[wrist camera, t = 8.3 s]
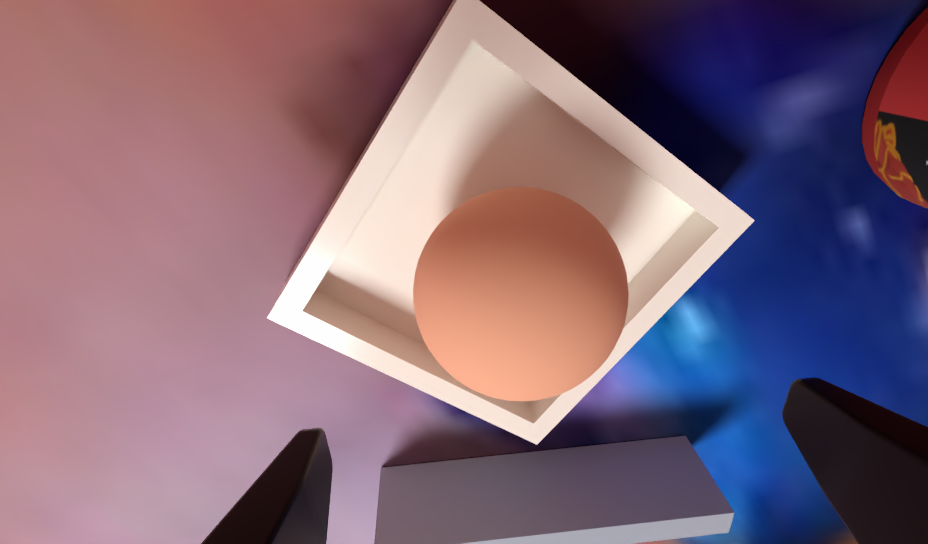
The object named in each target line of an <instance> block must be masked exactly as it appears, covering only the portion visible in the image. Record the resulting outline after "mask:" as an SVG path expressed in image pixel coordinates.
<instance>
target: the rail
mask: <svg viewBox="0 0 928 544" xmlns="http://www.w3.org/2000/svg"><path fill="white" fill-rule="evenodd" d="M733 516H734V511H733V510H732V508H731V506H730V505H729V503H728V502H727V500H726V499H725V497H724V495H723V494H722V492H721V491H720V489H719V488H718V486H717V484H716V483H715V481H714V480H713V478H712V476H711V475H710V473H709V472H708V470H707V469H706V467H705V465H704V464H703V462H702V461H701V459H700V458H699V456H698V454H697V453H696V451H695V450H694V448H693V447H692V445H691V443H690V442H689V440H688V439H687V437H686V436H677V437H668V438H658V439H649V440H639V441H630V442H620V443H611V444H601V445H592V446H582V447H573V448H563V449H554V450H544V451H535V452H525V453H516V454H506V455H497V456H487V457H478V458H468V459H459V460H449V461H440V462H430V463H421V464H412V465H402V466H393V467H383V468H381V475H380V486H379V498H378V509H377V520H376V532H375V543H374V544H633V543H642V542H650V541H659V540H668V539H677V538H685V537H694V536H703V535H712V534H720V533H729V530H730V526H731V523H732V520H733Z"/></svg>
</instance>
